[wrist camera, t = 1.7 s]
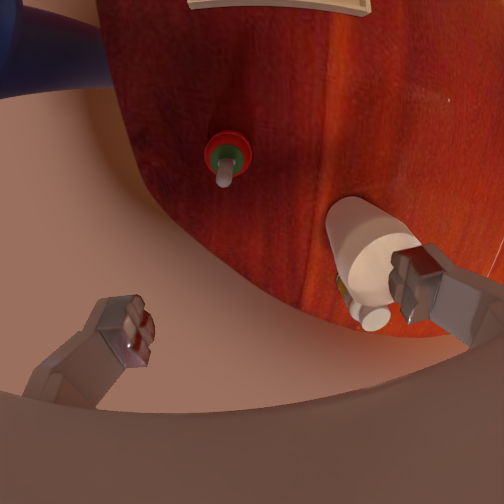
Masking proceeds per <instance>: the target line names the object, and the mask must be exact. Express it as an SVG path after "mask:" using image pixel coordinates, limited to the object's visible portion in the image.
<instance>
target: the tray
mask: <svg viewBox="0 0 504 504" xmlns="http://www.w3.org/2000/svg"><path fill="white" fill-rule="evenodd" d="M187 3H188V5H189V7H190V9H191V10H192V9H201V8H211V7H226V6H283V7H297V8H308V9H317V10H324V11H331V12H337V13H343V14H349V15H354V16H359V17H364V16H365V15H367V14H369V13H371V5H370V0H187Z"/></svg>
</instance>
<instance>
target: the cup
mask: <svg viewBox="0 0 504 504" xmlns="http://www.w3.org/2000/svg"><path fill="white" fill-rule="evenodd" d="M326 230H327V233H328V237H329V240H330V244H331V248H332V251H333V255H334V259H335V263H336V267H337V270H338V273H339V276H340V278H341V280H342V281H343V283H344V284H345V286H346V288H347V289H348V291H349V293H350V294H351V296H352V297H353V299H354V300H355V301H357V302H358V303H360V304H362V305H364V306H369V307H378V306H384V305H387V304H390V303H392V302H394V300H393V298H392V297H391V294H390V291H389V285H388V280H389V274H390V272H391V271H392V269H393V268H394V267H393V266H392V264H391V263H390V262H391V256H392V253H393V252H394V251H399V250H403V249H408V248H413V247H417V246H420V245H421V243H420V242H419V241H418V239H417V238H416V237H415V236H414V235H413V234H412V233H411V231H410V230H409V229H408V228H407V226H406V225H405V224H404V223H402V222H401V221H400V220H398V219H396V218H395V217H393V216H391V215H390V214H388V213H386V212H385V211H383V210H381V209H379V208H378V207H376V206H374V205H372V204H371V203H369V202H367V201H365V200H363V199H361V198H359V197H346V198H343V199H341V200H339V201H337V202H336V203H335V204H334V205H333V206H332V207H331V208H330V210H329V212H328V214H327V216H326Z"/></svg>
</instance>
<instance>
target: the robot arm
mask: <svg viewBox="0 0 504 504" xmlns="http://www.w3.org/2000/svg"><path fill="white" fill-rule="evenodd" d="M390 263H391V264H392V266H393V267H394V268H393V269H392V271H391V272H390V274H389V280H388V285H389V291H390V294H391V297H392V298H393V300H394V302H396V303H398V304H400V305H401V308H400V312H401V313H402V315H403V316H404V318H405V320H406V322H407V323H408V324H412V323H416V322H419V321H423V320H427V319H430V320H431V321H433V322H434V323H435V324H437V325H438V326H440V327H441V328H443V329H444V330H446V331H447V332H449V333H450V334H452V335H453V336H455V337H456V338H458V339H459V340H460V341H462V342H463V343H465V344H466V345H468V346H469V347H470V348H469V350H468V351H466V352H464V353H461V354H459V355H457V356H455V357H452V358H450V359H447V360H445V361H443V362H440V363H437V364H435V365H432V366H430V367H427V368H424V369H422V370H419V371H416V372H413V373H411V374H408V375H405V376H402V377H399V378H396V379H393V380H389V381H386V382H383V383H380V384H376V385H373V386H369V387H365V388H362V389H358V390H354V391H350V392H346V393H342V394H338V395H334V396H329V397H324V398H319V399H314V400H309V401H304V402H299V403H292V404H286V405H279V406H273V407H265V408H257V409H248V410H238V411H225V412H209V413H181V414H180V413H178V414H177V413H176V414H175V413H174V414H173V413H170V414H169V413H167V414H166V413H160V414H159V413H134V412H118V411H107V410H98V409H96V405H97V404H98V403H99V401H100V400H101V399H102V398H103V397H104V395H105V394H106V393H107V392H108V390H109V389H110V387H111V386H112V385H113V384H114V383H115V382H116V380H117V379H118V378H119V377H120V375H121V374H122V373H123V372H124V370H125V368H137V367H147V365H148V361H149V357H150V353H151V351H150V349H149V347H148V346H149V345H150V344H151V343H152V342H153V341H154V337H155V325H154V322H153V319H152V317H151V315H150V314H149V313H148V312H146V311H145V310H144V306H145V303H144V301H143V299H142V297H141V296H139V295H137V294H136V295H127V296H118V297H109V298H101V299H100V300H98V301H97V303H96V305H95V307H94V308H93V310H92V312H91V314H90V316H89V318H88V320H87V322H86V324H85V326H84V328H83V330H82V331H78V332H77V333H76V334H75V335H74V336H72V337H71V338H70V339H69V340H68V341H66V342H65V343H64V344H63V345H62V346H60V347H59V348H58V349H57V350H56V351H55V352H53V353H52V354H51V355H50V356H49V357H48V358H47V359H45V360H44V361H43V362H42V363H41V364H40V365H39V366H37V367H36V368H35V369H34V371H33V373H32V375H31V377H30V379H29V381H28V383H27V386H26V388H25V390H24V393H23V395H22V396H18V395H15V394H11V393H7V392H3V391H0V504H504V285H502V284H500V283H498V282H495V281H493V280H491V279H488V278H486V277H483V276H481V275H479V274H476V273H474V272H471V271H469V270H466V269H464V268H458V267H457V266H456V265H455V264H454V263H453V262H452V261H451V260H450V259H449V258H448V257H447V256H446V255H445V254H444V253H443V252H442V251H441V250H440V249H439V248H438V247H437V246H436V245H435V244H433V243H428V244H424V245H420V246H417V247H413V248H408V249H403V250H399V251H394V252H393V253H392V256H391V262H390Z"/></svg>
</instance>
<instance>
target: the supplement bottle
mask: <svg viewBox="0 0 504 504" xmlns="http://www.w3.org/2000/svg"><path fill="white" fill-rule="evenodd" d="M336 282H337V286H338V288H339V290H340V293H341V295H342V297H343V299H344V301H345V303H346V306H347V308H348V310H349V312H350V314H351V316H352V317H353V318H354V319H355V320H357V321H359V322H360V323H361V325H362V328H363V329H364V330H366V331H375V330H378V329H380V328H382V327H383V326H384V325H386V323H387V322H388V321H389V319H390V316H391V314H390V311H389V309H388V307H387V305H384V306H378V307H369V306H364V305H362V304H360V303H358V302H357V301H355V300H354V299H353V297H352V296H351V294H350V293H349V291H348V289H347V288H346V286H345V284H344V283H343V281H342V280H341V278H340V276H339V273H338V275H337V279H336Z"/></svg>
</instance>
